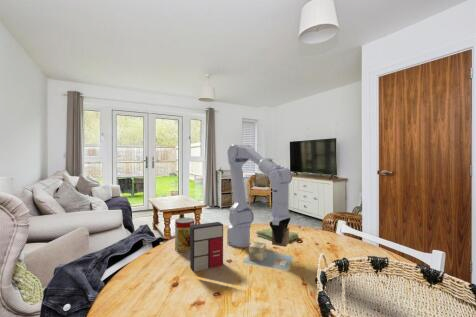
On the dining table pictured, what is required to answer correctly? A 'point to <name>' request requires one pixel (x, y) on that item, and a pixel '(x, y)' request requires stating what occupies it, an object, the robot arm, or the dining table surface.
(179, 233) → the canned food
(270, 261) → the board
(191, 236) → the grey toy cabinet
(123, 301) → the dining table surface
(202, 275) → the dining table surface
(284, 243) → the walnut block
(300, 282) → the dining table surface
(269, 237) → the washcloth
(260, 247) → the birch block
